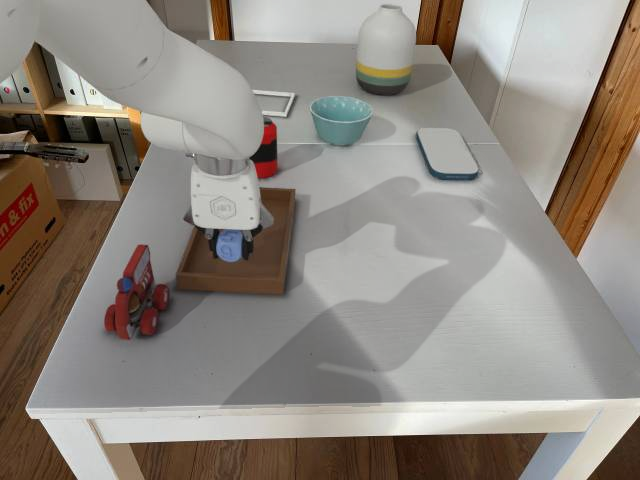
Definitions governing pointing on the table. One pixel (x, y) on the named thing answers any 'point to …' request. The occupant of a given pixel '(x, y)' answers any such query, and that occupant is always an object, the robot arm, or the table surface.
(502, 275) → the table surface
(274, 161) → the soda can
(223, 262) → the tray
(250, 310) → the table surface
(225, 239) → the decorative dice
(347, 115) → the bowl
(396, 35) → the vase
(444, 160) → the external hard drive
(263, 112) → the photo frame
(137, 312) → the toy fire truck
